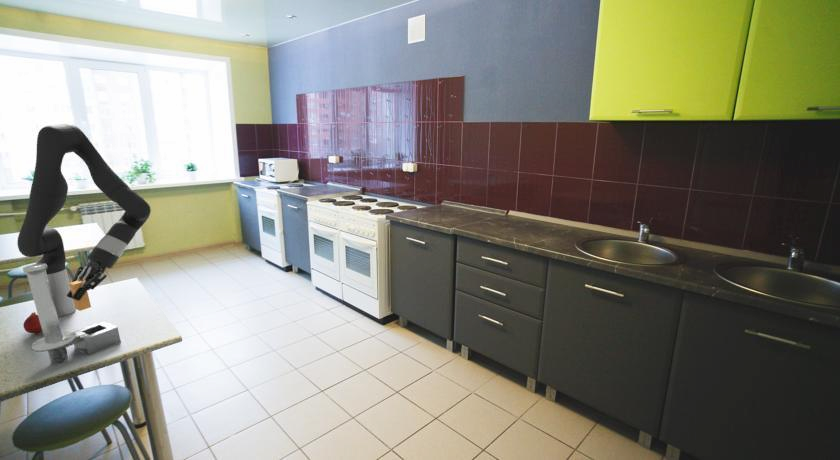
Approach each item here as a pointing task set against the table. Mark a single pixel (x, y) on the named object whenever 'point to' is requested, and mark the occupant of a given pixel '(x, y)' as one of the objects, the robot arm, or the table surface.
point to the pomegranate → (33, 324)
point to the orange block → (84, 301)
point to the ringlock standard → (54, 338)
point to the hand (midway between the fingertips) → (72, 298)
